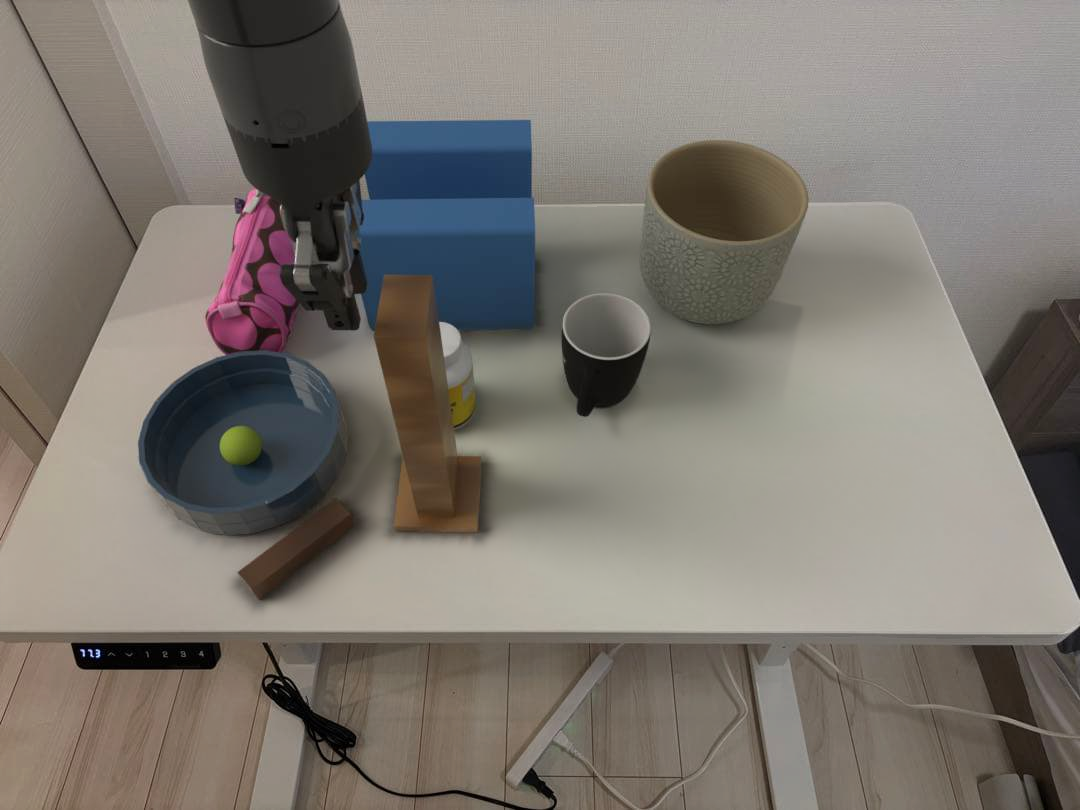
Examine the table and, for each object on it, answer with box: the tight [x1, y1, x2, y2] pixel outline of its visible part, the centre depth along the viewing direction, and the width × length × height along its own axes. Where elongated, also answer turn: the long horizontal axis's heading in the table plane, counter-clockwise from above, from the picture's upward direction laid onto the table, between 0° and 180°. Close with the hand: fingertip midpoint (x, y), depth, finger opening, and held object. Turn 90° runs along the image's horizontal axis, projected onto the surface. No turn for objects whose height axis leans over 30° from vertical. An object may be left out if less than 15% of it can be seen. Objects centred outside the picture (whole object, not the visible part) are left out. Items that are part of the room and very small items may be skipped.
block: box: [359, 119, 536, 332], centre depth 88 cm, size 18×18×18 cm
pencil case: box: [204, 188, 301, 356], centre depth 91 cm, size 21×10×10 cm, turn 2°
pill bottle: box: [439, 322, 477, 431], centre depth 81 cm, size 6×6×12 cm
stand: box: [373, 275, 483, 533], centre depth 68 cm, size 8×8×28 cm
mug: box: [561, 292, 652, 418], centre depth 83 cm, size 12×9×10 cm
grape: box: [220, 426, 262, 466], centre depth 79 cm, size 4×4×4 cm
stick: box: [237, 497, 356, 601], centre depth 75 cm, size 11×2×2 cm, turn 135°
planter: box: [639, 139, 809, 325], centre depth 90 cm, size 17×17×15 cm
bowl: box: [137, 350, 349, 536], centre depth 80 cm, size 19×19×5 cm
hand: (348, 307), depth 57 cm, fingers open, 3 cm apart
